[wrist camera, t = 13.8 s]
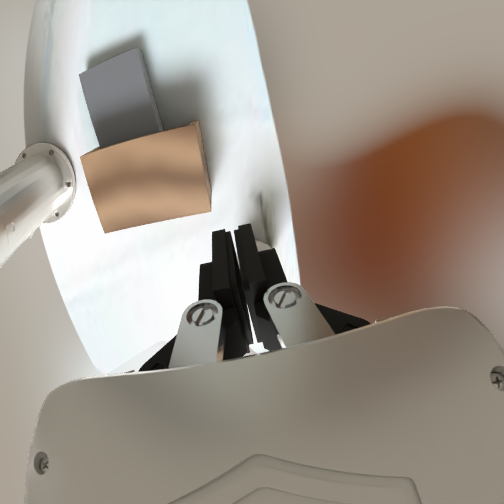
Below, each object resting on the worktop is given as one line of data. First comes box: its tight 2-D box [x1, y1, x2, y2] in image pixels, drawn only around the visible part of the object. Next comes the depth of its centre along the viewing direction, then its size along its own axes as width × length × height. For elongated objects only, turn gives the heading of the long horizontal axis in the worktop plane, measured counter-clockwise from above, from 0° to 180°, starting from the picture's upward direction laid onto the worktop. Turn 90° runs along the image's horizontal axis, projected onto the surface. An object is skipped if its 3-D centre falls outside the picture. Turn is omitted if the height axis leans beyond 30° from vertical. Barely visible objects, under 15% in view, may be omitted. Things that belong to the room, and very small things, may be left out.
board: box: [79, 48, 164, 149], centre depth 29 cm, size 16×8×3 cm, turn 12°
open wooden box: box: [80, 120, 212, 233], centre depth 31 cm, size 10×14×7 cm
